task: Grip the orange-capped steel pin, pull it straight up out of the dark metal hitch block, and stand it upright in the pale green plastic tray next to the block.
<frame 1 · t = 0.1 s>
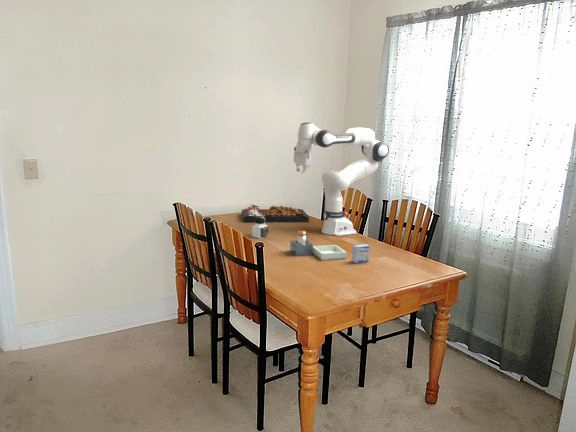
hand: (300, 172, 289), 39 cm above the table, tool pointing down, fingers open, 8 cm apart
food platter: (274, 219, 339), on the table
medicine bottle: (260, 237, 290), on the table
tray: (328, 255, 256), on the table
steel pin: (301, 242, 258), in the hitch block
hitch block: (301, 252, 260), on the table
medicine box: (360, 261, 248), on the table
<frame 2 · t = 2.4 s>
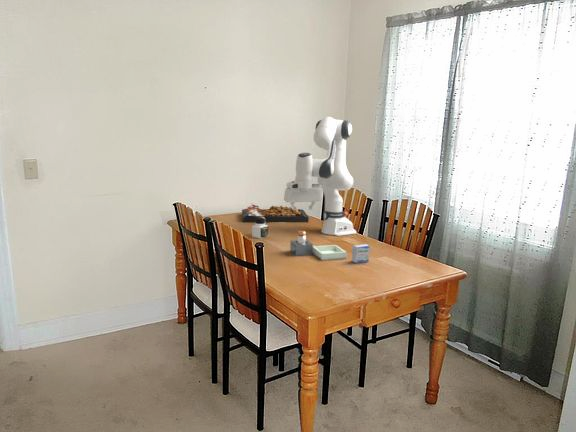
hand: (302, 209, 254), 24 cm above the table, tool pointing down, fingers open, 8 cm apart
nothing on the table moved.
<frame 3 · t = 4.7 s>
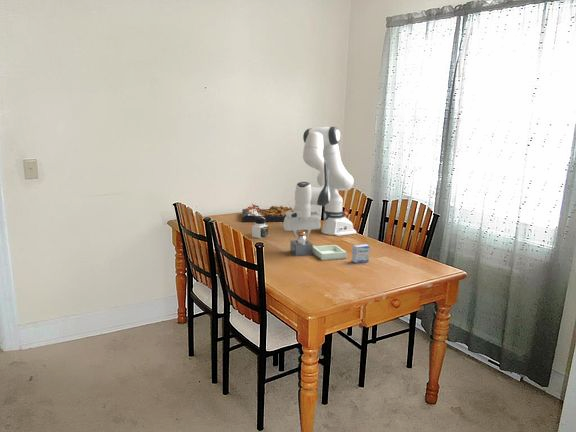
hand: (301, 237, 258), 9 cm above the table, tool pointing down, fingers closed on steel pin, 4 cm apart
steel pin: (301, 242, 258), in the hitch block, touching gripper
everything else where it was.
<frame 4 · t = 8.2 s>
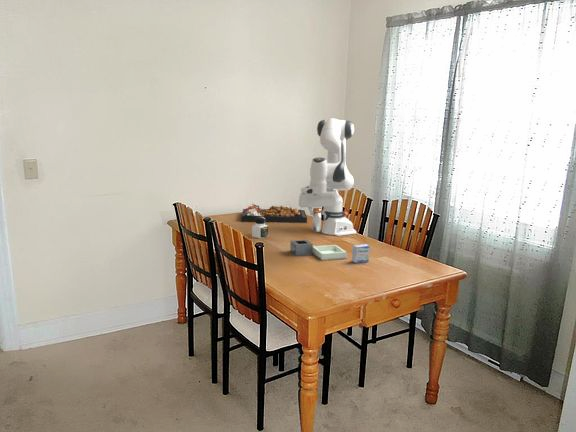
hand: (317, 214, 253), 22 cm above the table, tool pointing down, fingers closed on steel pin, 4 cm apart
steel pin: (316, 219, 254), point 19 cm above the table, touching gripper
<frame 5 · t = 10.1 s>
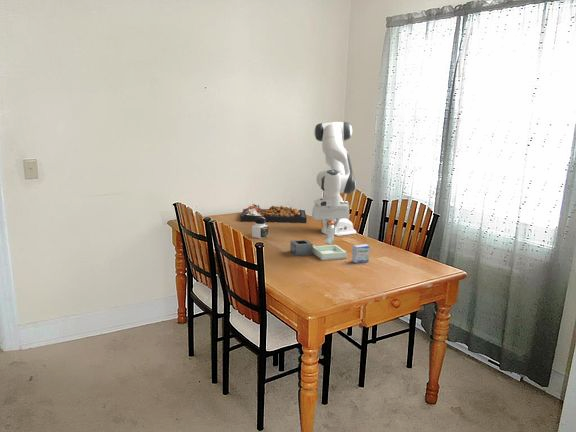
hand: (330, 227, 253), 16 cm above the table, tool pointing down, fingers closed on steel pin, 4 cm apart
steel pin: (329, 231, 253), point 13 cm above the table, touching gripper
when the fingers open (11 cm above the table, at t = 11.9 s): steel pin stays where it is, resting on tray.
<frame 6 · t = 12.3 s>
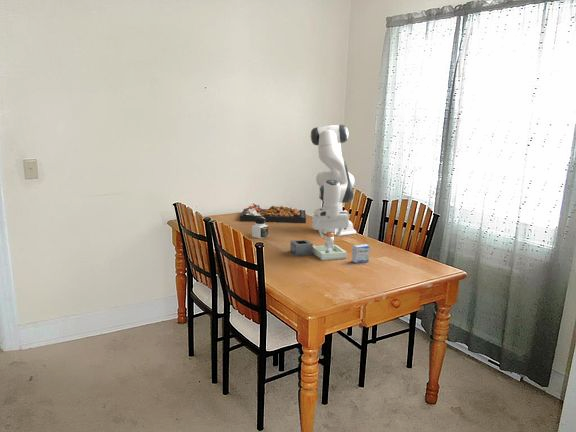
hand: (329, 236, 254), 11 cm above the table, tool pointing down, fingers open, 8 cm apart
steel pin: (329, 243, 255), in the tray, point 7 cm above the table
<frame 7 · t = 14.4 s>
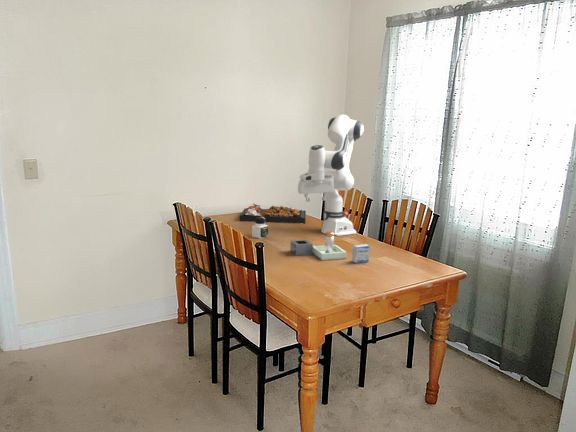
hand: (315, 200, 261), 28 cm above the table, tool pointing down, fingers open, 8 cm apart
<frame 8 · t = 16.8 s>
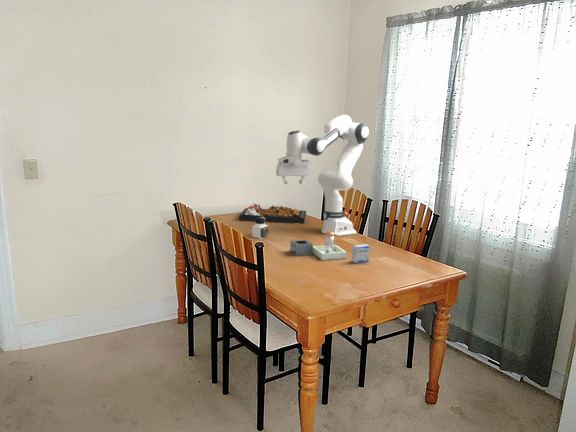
hand: (293, 183, 276), 34 cm above the table, tool pointing down, fingers open, 8 cm apart
at the end: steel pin inside the target area on the tray (0.1 cm from its centre), point 6.8 cm above the tray's base; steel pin tilted 1°; the gripper is holding nothing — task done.
